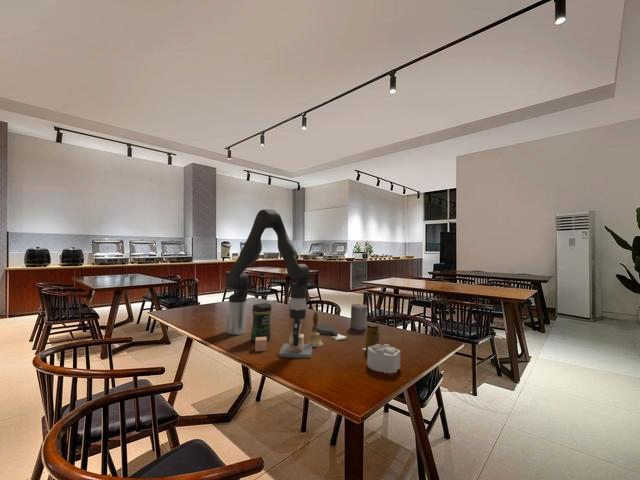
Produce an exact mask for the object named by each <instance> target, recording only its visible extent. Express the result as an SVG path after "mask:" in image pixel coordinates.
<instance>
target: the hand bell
mask: <svg viewBox="0 0 640 480" xmlns="http://www.w3.org/2000/svg"><path fill="white" fill-rule="evenodd" d="M312 316H313V317H312V323H313V326H314V330H312V331H313V332H311V333H310V337H309V339H308V341H307V342H306V344H313V345H312V348H318V347H319V348H320V347H322V346H323V345H324V342H322V340H321V336H320V335H321V334H319V333H318V332H317V325H318V322H319V316H318V312H317V311H314V312H313V315H312Z"/></svg>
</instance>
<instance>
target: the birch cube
mask: <svg viewBox="0 0 640 480" xmlns="http://www.w3.org/2000/svg"><path fill="white" fill-rule="evenodd" d="M292 335H293V332H292V333H290V336H289V351H303V347H304V344H305V343H304V341H305V337H304V336H305V334H304V333H300V334H299V339H298V346H294V345H293V336H292Z"/></svg>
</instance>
